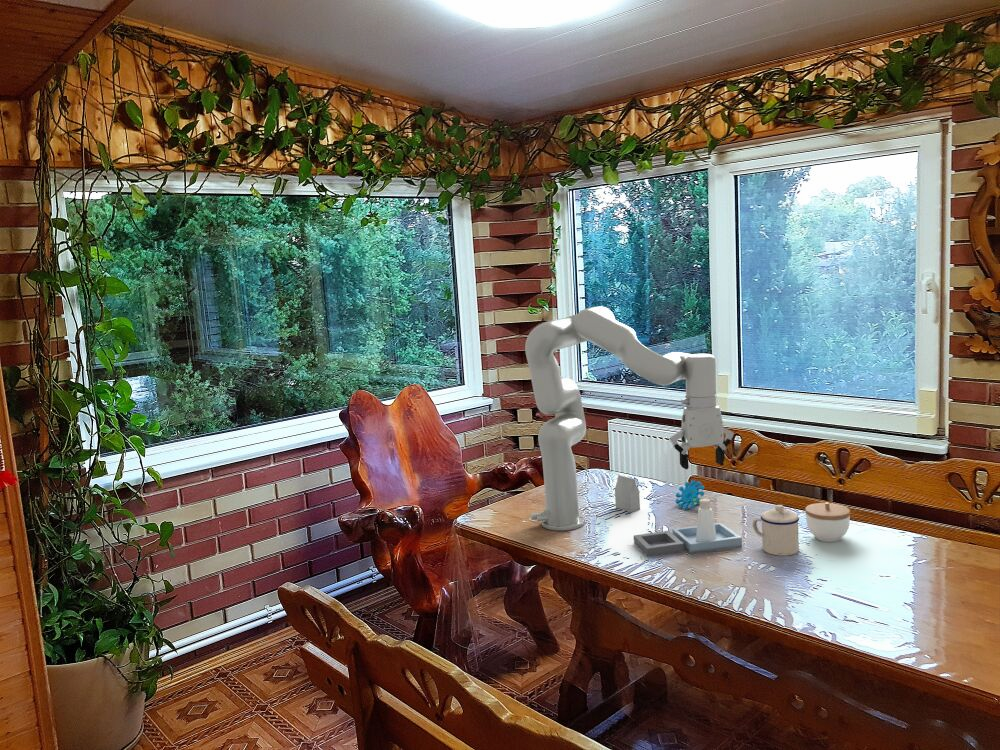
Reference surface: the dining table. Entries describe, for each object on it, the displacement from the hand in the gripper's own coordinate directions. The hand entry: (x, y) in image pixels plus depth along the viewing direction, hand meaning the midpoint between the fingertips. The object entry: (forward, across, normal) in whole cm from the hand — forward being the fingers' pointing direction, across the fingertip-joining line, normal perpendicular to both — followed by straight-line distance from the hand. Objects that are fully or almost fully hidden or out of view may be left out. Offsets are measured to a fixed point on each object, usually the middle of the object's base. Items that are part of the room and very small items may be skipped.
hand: (702, 466), depth 198 cm
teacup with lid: (+21, +15, -10) cm, 27 cm away
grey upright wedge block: (+22, -9, +34) cm, 41 cm away
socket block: (+21, -12, 0) cm, 24 cm away
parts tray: (+21, +1, 0) cm, 21 cm away
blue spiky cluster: (+21, +9, +28) cm, 36 cm away
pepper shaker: (+20, +1, 0) cm, 20 cm away
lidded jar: (+20, +31, -8) cm, 38 cm away
